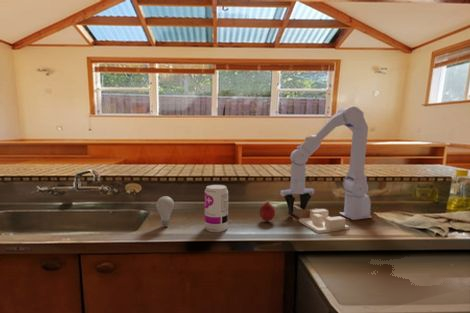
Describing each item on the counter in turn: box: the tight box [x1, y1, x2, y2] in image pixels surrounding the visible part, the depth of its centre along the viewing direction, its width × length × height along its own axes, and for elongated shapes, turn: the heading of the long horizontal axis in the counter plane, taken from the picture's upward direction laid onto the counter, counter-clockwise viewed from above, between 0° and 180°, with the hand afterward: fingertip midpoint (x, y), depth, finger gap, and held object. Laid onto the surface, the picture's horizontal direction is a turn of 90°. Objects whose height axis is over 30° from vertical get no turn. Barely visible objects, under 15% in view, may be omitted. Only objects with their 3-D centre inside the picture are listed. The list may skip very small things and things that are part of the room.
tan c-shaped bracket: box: [291, 202, 319, 219], centre depth 106 cm, size 8×10×4 cm
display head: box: [298, 208, 350, 234], centre depth 94 cm, size 13×12×4 cm
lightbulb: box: [155, 195, 175, 227], centre depth 91 cm, size 6×6×11 cm
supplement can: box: [204, 184, 229, 233], centre depth 90 cm, size 8×8×15 cm
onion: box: [258, 200, 276, 223], centre depth 97 cm, size 6×6×8 cm
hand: (296, 211), depth 105 cm, fingers open, 5 cm apart
